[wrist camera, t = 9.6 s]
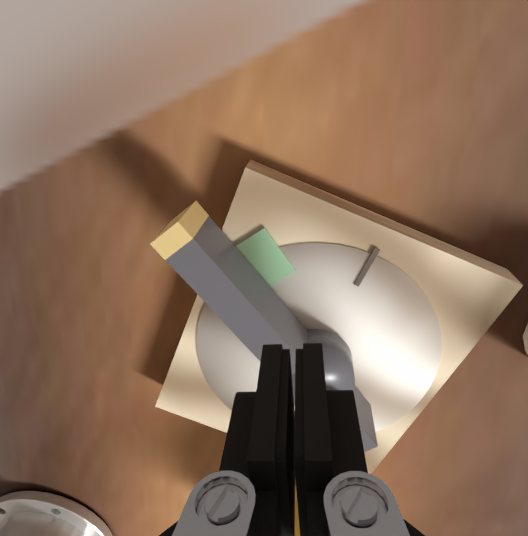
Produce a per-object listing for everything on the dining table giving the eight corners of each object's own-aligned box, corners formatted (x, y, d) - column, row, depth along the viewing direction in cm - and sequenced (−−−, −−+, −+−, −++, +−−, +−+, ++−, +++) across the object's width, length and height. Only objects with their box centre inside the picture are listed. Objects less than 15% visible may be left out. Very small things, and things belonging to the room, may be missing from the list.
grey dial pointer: (388, 393, 26) (398, 437, 23) (329, 422, 27) (331, 466, 24) (215, 184, 21) (199, 205, 18) (155, 233, 22) (131, 259, 19)
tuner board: (360, 459, 32) (363, 486, 30) (160, 384, 31) (149, 407, 29) (507, 269, 24) (525, 287, 22) (244, 156, 23) (238, 166, 21)
